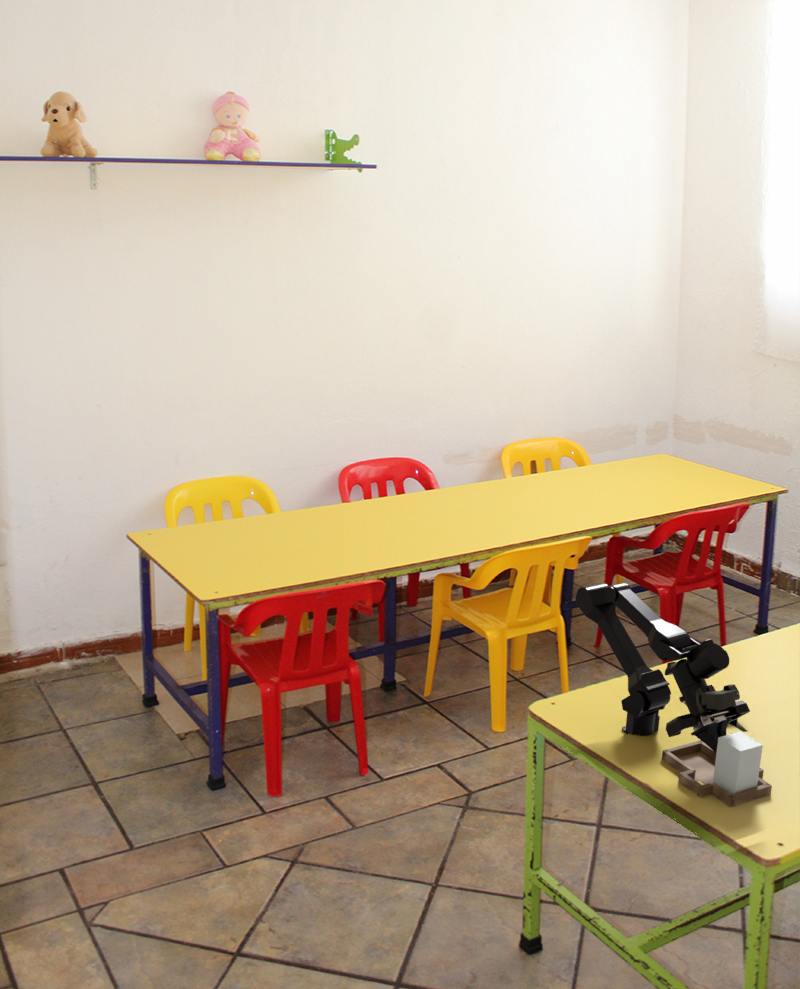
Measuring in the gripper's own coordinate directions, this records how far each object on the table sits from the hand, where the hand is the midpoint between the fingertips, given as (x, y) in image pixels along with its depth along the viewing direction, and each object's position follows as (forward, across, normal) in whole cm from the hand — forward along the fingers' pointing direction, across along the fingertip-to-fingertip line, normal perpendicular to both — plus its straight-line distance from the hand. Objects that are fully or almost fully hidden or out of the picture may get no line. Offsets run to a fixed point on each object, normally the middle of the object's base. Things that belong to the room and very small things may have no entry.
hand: (725, 758), depth 202 cm
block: (+6, 0, +2) cm, 6 cm away
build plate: (-9, +22, +20) cm, 31 cm away
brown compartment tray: (+3, 0, +6) cm, 7 cm away
